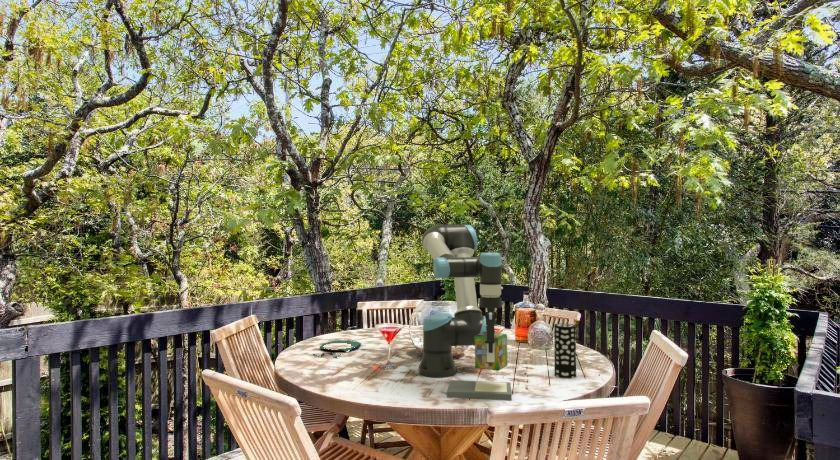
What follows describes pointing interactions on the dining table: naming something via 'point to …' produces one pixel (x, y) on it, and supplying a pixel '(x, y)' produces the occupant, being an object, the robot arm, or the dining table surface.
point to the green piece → (353, 343)
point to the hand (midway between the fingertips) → (490, 357)
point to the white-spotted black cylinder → (565, 350)
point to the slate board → (480, 390)
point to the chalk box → (499, 351)
